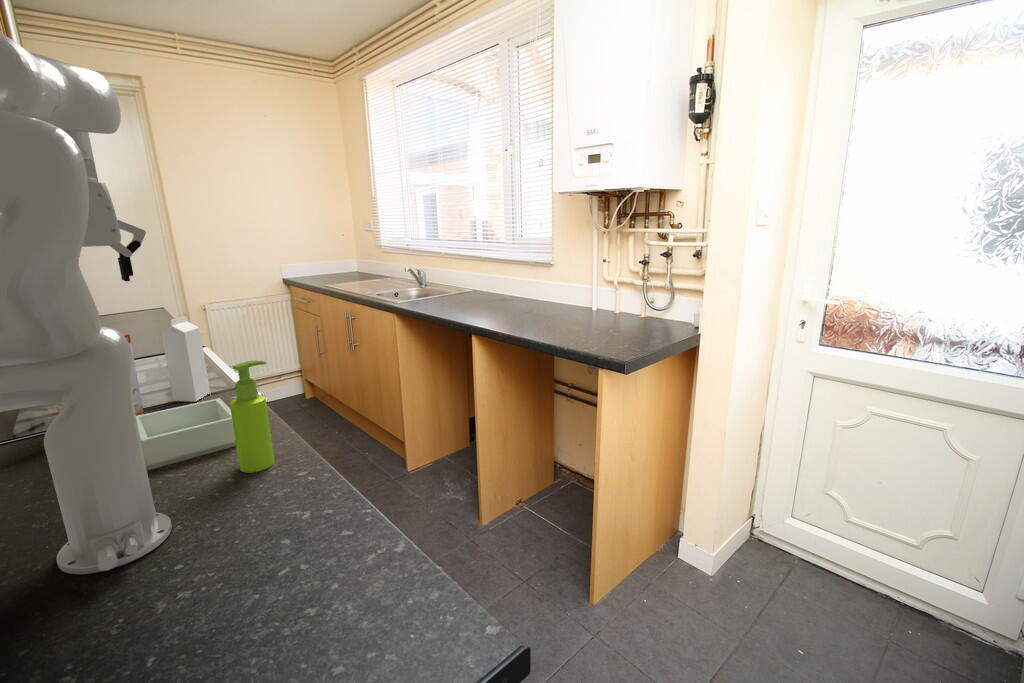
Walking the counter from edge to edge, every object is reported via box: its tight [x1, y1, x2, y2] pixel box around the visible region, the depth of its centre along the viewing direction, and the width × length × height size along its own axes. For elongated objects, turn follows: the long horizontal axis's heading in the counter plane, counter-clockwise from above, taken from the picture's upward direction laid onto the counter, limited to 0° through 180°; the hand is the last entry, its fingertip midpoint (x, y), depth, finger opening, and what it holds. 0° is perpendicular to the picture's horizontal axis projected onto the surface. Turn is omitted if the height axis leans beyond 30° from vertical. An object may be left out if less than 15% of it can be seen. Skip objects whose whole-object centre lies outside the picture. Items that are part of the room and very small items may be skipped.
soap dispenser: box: [229, 360, 276, 473], centre depth 88 cm, size 6×7×20 cm
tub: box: [136, 397, 236, 471], centre depth 99 cm, size 16×16×6 cm
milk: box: [160, 315, 211, 401], centre depth 124 cm, size 6×6×22 cm
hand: (88, 283), depth 77 cm, fingers open, 9 cm apart
